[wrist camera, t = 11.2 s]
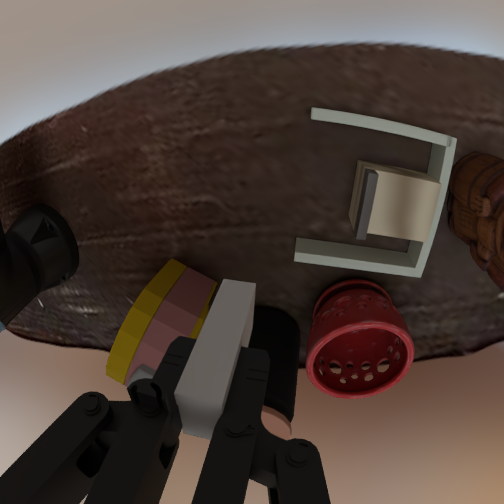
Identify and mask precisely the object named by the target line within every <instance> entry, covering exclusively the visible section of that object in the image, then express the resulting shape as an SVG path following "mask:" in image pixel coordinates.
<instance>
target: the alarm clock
mask: <svg viewBox="0 0 504 504" xmlns="http://www.w3.org/2000/svg"><path fill="white" fill-rule="evenodd" d="M217 283H218V282H215V281H214V280H212V279H210V278H208V277H206V276H204V275H203V274H201V273H199V272H197V271H195V270H193V269H191V268H189V267H187V266H185V265H184V264H182V263H180V262H178V261H176V260H174V259H172V258H171V259H170V260H169V262H168V263H167V264H166V265H165V266H164V267H163V268H162V269H161V270H160V271H159V272H158V274H157V275H156V276H155V277H154V278H153V279H152V280H151V281H150V282H149V284H148V285H147V286H146V287H145V288H144V289H143V291H142V292H141V294H140V295H139V297H138V298H137V300H136V301H135V303H134V304H133V306H132V307H131V309H130V311H129V313H128V315H127V317H126V318H125V320H124V322H123V324H122V326H121V328H120V330H119V332H118V335H117V337H116V339H115V342H114V344H113V346H112V349H111V351H110V356H109V358H108V362H107V365H106V375H107V376H109V377H111V378H113V379H114V380H116V381H118V382H120V383H121V384H123V385H125V386H127V388H128V386H129V385H130V384H131V383H132V382H134V381H136V380H138V379H143V378H150V379H152V378H153V376H154V374H155V372H156V370H157V368H158V366H159V364H160V362H161V360H162V358H163V356H164V355H165V352H166V351H167V349H168V347H169V345H170V343H171V342H172V341H174V340H175V339H176V338H177V337H178V336H184V337H189V338H194V339H197V338H198V336H199V334H200V332H201V329H202V327H203V325H204V322H205V320H206V318H207V315H208V313H209V305H208V303H209V301H210V299H211V296H212V294H213V292H214V290H215V287H216V285H217Z"/></svg>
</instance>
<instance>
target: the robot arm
mask: <svg viewBox="0 0 504 504" xmlns="http://www.w3.org/2000/svg"><path fill="white" fill-rule="evenodd" d="M77 267H78V250H77V245H76V242H75V239H74V236H73V234H72V232H71V230H70V228H69V227H68V225H67V223H66V222H65V221H64V219H63V218H62V217H61V216H60V215H59V214H58V213H57V212H56V211H55V210H53V209H52V208H50V207H49V206H46V205H43V204H35V205H33V206H31V207H29V208H27V209H26V210H24V211H23V212H22V213H21V214H20V215H19V216H18V218H17V219H16V220H15V221H14V223H13V224H12V225H11V227H10V228H9V229H8V231H7V232H6V233H5V234H4V231H3V227H2V223H1V219H0V332H1V331H2V330H5V328H6V326H7V325H8V324H9V323H10V322H11V321H12V320H13V319H14V318H15V317H16V316H17V315H18V314H19V313H20V311H21V310H22V309H23V308H24V307H25V306H27V305H28V304H29V303H30V302H31V301H32V300H33V299H34V298H35V297H36V296H37V295H38V294H39V293H40V292H42V291H45V290H47V289H50V288H53V287H55V286H58V285H61V284H63V283H65V282H66V281H67V280H68V279H69V278H70V277H71V276H73V274H74V273H75V272H76V270H77ZM255 290H256V283H249V282H242V281H235V280H228V279H223V281H222V284H221V286H220V288H219V290H218V293H217V295H216V297H215V299H214V302H213V304H212V306H211V309H210V311H209V313H208V315H207V318H206V320H205V322H204V325H203V327H202V329H201V332H200V334H199V336H198V338H197V339H194V338H189V337H184V336H178V337H177V338H176V339H175V340H174V341H172V342H171V343H170V345H169V347H168V349H167V351H166V352H165V355H164V356H163V358H162V360H161V362H160V364H159V366H158V368H157V370H156V372H155V374H154V376H153V378H152V379H150V378H143V379H138V380H136V381H134V382H132V383H131V384H130V385H129V386H128V388H127V390H128V393H129V395H130V398H131V401H108V399H107V398H106V397H105V396H104V395H103V394H101V393H98V392H87V393H84V394H83V395H81V396H80V397H78V398H77V399H76V400H75V401H74V402H73V403H72V404H71V405H70V406H69V407H68V408H67V409H66V410H65V411H64V412H63V413H62V414H61V415H60V416H59V417H58V418H57V419H56V420H55V421H54V422H53V423H52V424H51V426H49V427H48V429H46V430H45V432H44V433H43V434H42V435H41V436H40V437H39V438H38V439H37V440H36V441H35V442H34V443H33V444H32V445H31V446H30V447H29V448H28V449H27V450H26V451H25V452H24V453H23V454H22V455H21V456H20V457H19V458H18V459H17V460H16V461H15V462H14V463H13V464H12V465H11V466H10V467H9V468H8V469H7V470H6V471H5V473H4V474H3V475H2V476H1V477H0V504H79V503H80V502H81V501H82V500H83V499H84V498H85V496H86V495H87V494H88V495H87V498H86V500H85V502H84V504H159V501H160V498H161V496H162V493H163V490H164V487H165V484H166V482H167V479H168V475H169V473H170V470H171V467H172V465H173V462H174V459H175V456H176V453H177V450H178V448H179V438H178V437H179V434H180V432H181V429H183V433H185V434H189V435H193V436H197V437H201V438H205V439H210V440H211V441H210V444H209V448H208V451H207V454H206V458H205V461H204V464H203V467H202V471H201V474H200V477H199V481H198V484H197V487H196V490H195V494H194V497H193V500H192V504H244V499H245V495H246V490H247V486H248V481H249V479H251V480H254V481H256V482H258V483H260V484H262V485H264V486H267V488H268V496H269V504H331V503H330V499H329V494H328V489H327V485H326V480H325V476H324V471H323V467H322V463H321V458H320V454H319V452H318V449H317V448H316V446H315V445H313V444H312V443H311V442H310V441H307V440H305V439H296V438H294V439H291V440H285V439H282V438H280V437H278V436H276V435H274V434H272V433H270V432H269V431H268V430H267V429H266V428H265V426H264V425H263V423H262V420H261V414H262V408H263V402H264V397H265V391H266V385H267V379H268V373H269V367H270V358H269V355H268V353H267V350H261V349H255V348H248V344H249V340H250V336H251V332H252V327H253V315H254V302H255Z"/></svg>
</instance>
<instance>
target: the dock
mask: <svg viewBox="0 0 504 504" xmlns="http://www.w3.org/2000/svg"><path fill="white" fill-rule="evenodd" d="M311 119H314V120H322V121H329V122H335V123H342V124H348V125H354V126H360V127H365V128H370V129H376V130H381V131H385V132H390V133H395V134H399V135H404V136H408V137H412V138H416V139H420V140H424V141H428V142H432V143H433V144H432V149H431V155H430V161H429V166H428V171H427V174H428V175H430V176H431V177H433V178H434V179H435V180H437V181H438V182H440V183H441V184H442V186H441V190H440V194H439V198H438V202H437V206H436V210H435V214H434V218H433V221H432V225H431V229H430V232H429V235H428V239H427V242H421V241H415V240H411V241H410V244H409V248H408V251H407V253H405V252H398V251H391V250H384V249H377V248H370V247H363V246H356V245H349V244H342V243H335V242H327V241H320V240H313V239H305V238H298V237H297V239H296V246H295V257H294V261H297V262H304V263H312V264H320V265H327V266H335V267H342V268H350V269H358V270H365V271H373V272H381V273H389V274H396V275H404V276H412V277H420V278H421V275H422V272H423V270H424V267H425V264H426V261H427V258H428V255H429V252H430V249H431V246H432V242H433V239H434V236H435V232H436V229H437V225H438V222H439V218H440V215H441V211H442V207H443V203H444V199H445V195H446V191H447V187H448V182H449V178H450V173H451V168H452V163H453V158H454V153H455V147H456V141H457V139H456V138H454V137H451V136H448V135H445V134H441V133H438V132H434V131H431V130H427V129H423V128H419V127H415V126H411V125H407V124H403V123H399V122H394V121H390V120H385V119H381V118H376V117H371V116H365V115H360V114H354V113H349V112H342V111H336V110H329V109H322V108H315V107H311Z"/></svg>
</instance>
